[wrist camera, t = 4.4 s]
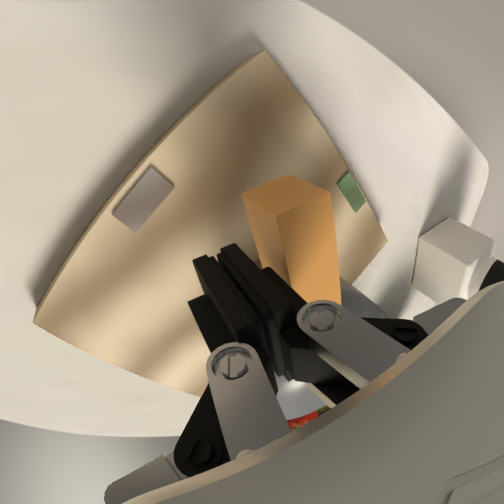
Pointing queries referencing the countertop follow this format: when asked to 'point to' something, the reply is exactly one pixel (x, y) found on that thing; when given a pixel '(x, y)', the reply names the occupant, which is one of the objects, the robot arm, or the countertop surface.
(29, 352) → the countertop surface
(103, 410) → the countertop surface
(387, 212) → the countertop surface
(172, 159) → the plate
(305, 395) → the grey paddle
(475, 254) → the medicine bottle
